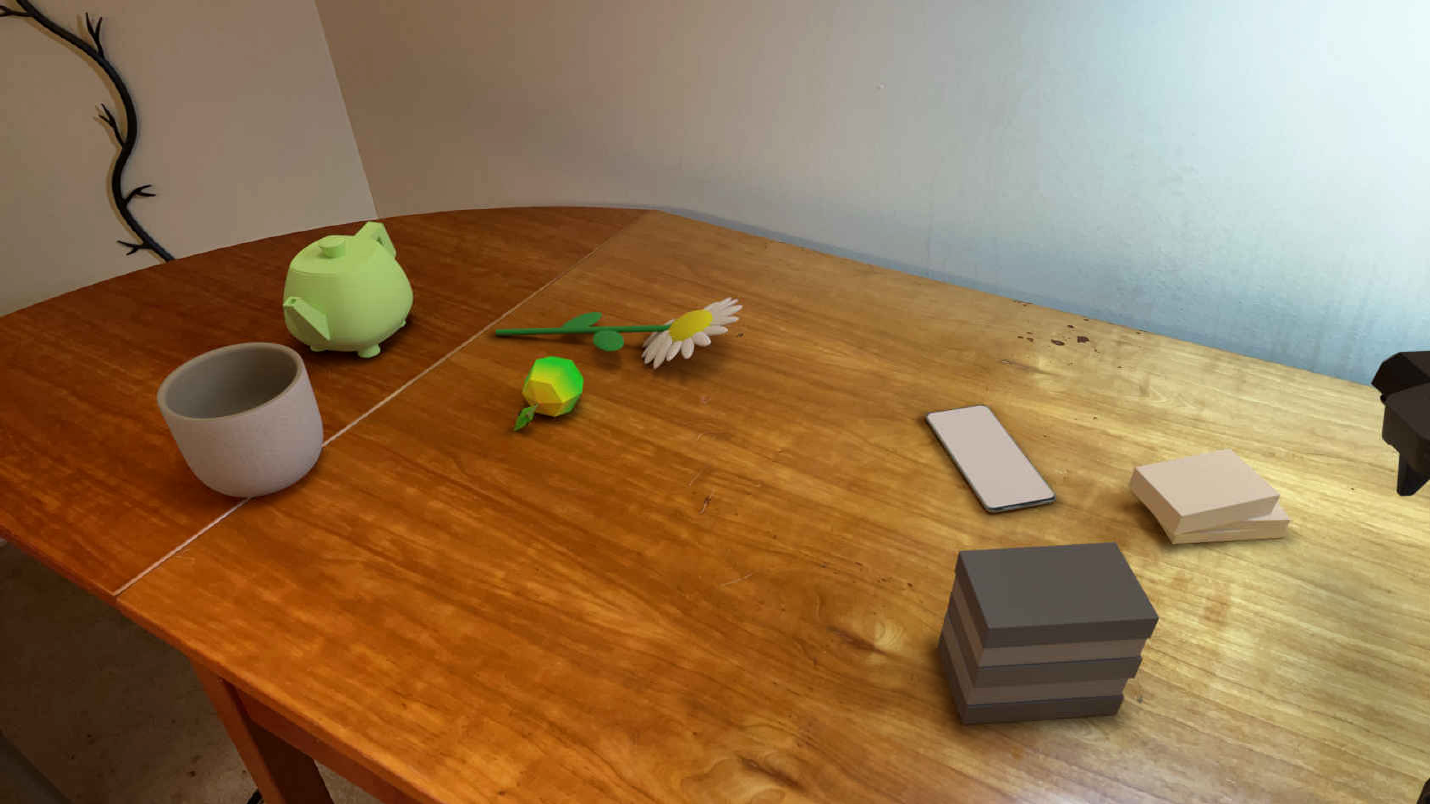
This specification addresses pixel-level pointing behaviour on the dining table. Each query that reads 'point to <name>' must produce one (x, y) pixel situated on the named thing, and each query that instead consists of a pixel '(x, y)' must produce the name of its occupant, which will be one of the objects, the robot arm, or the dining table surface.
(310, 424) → the planter
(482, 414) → the dining table surface
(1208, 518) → the cream block
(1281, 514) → the beige rectangular slab
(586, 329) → the decorative flower
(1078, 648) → the grey stack
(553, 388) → the apple
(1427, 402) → the robot arm
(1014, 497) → the smartphone
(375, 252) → the teapot
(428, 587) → the dining table surface
